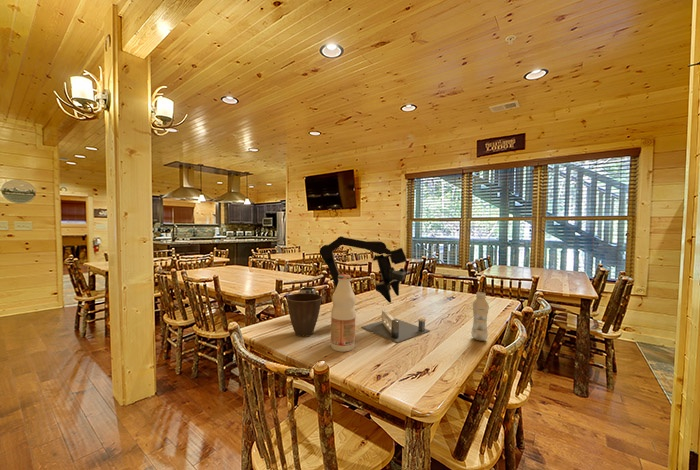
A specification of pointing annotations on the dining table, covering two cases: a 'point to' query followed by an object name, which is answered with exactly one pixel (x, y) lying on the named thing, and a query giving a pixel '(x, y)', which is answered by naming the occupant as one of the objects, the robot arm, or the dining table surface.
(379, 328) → the mat
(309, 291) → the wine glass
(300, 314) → the plant pot
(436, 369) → the dining table surface
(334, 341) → the fruit juice
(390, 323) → the gate
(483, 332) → the plastic bottle
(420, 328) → the post
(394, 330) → the hinge post
